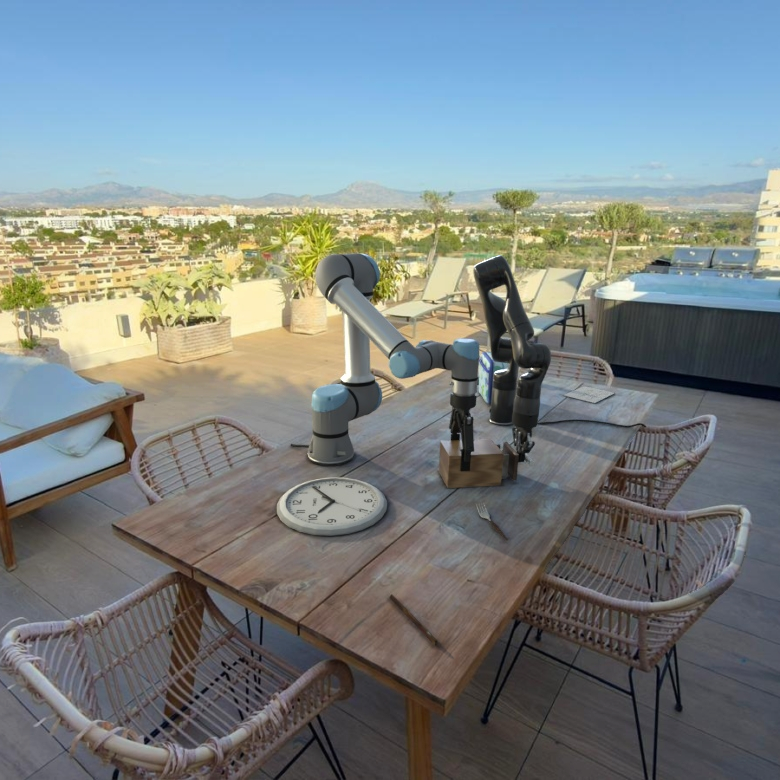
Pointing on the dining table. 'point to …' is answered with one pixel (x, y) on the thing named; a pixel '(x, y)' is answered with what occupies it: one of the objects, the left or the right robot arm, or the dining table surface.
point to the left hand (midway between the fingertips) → (459, 461)
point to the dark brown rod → (413, 619)
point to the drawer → (512, 461)
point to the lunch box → (488, 375)
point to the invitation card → (589, 394)
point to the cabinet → (471, 464)
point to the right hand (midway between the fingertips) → (519, 462)
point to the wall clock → (331, 506)
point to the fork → (487, 516)
